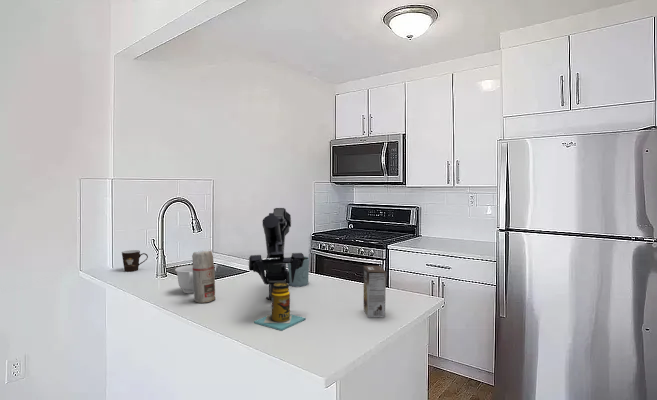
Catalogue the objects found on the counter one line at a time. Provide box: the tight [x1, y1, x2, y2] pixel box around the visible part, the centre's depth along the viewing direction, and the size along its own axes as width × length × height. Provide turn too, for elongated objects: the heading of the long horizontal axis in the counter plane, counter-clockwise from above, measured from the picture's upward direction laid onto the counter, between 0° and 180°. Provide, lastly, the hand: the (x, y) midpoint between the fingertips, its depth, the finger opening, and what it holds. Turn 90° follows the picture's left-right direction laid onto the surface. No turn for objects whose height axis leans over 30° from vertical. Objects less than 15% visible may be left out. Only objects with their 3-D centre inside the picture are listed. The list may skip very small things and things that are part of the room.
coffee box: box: [362, 265, 387, 318], centre depth 140 cm, size 9×6×16 cm
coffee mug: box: [121, 249, 149, 273], centre depth 207 cm, size 12×9×10 cm
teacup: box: [174, 264, 194, 294], centre depth 166 cm, size 12×15×10 cm
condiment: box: [264, 283, 293, 323], centre depth 132 cm, size 7×8×12 cm
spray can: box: [191, 249, 216, 304], centre depth 155 cm, size 8×8×20 cm
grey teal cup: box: [286, 255, 310, 288], centre depth 180 cm, size 10×10×12 cm
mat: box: [253, 313, 306, 332], centre depth 132 cm, size 12×12×1 cm
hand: (279, 282), depth 133 cm, fingers open, 9 cm apart
